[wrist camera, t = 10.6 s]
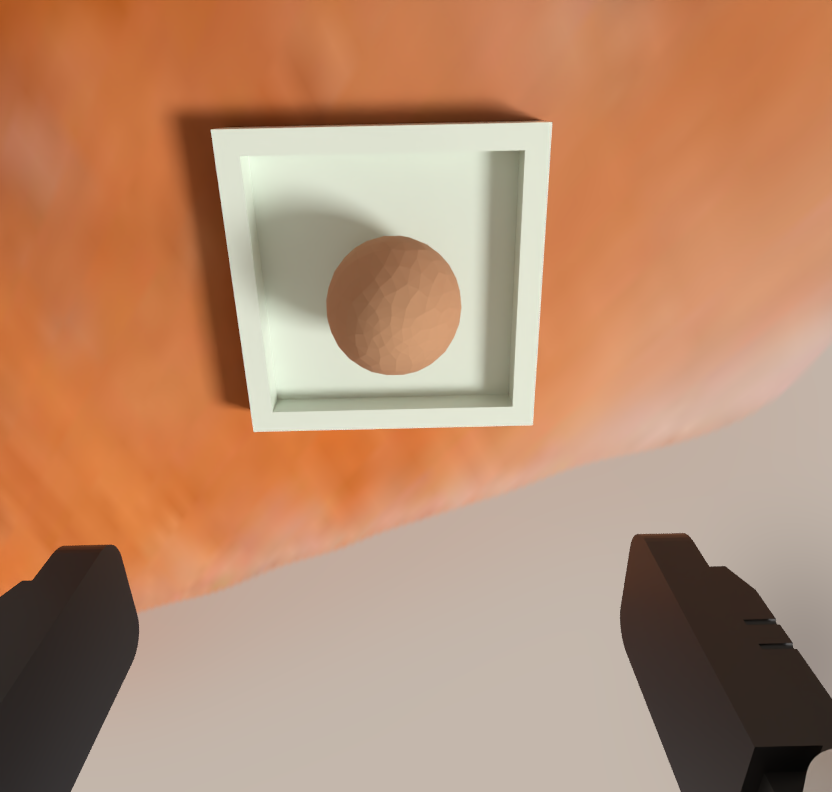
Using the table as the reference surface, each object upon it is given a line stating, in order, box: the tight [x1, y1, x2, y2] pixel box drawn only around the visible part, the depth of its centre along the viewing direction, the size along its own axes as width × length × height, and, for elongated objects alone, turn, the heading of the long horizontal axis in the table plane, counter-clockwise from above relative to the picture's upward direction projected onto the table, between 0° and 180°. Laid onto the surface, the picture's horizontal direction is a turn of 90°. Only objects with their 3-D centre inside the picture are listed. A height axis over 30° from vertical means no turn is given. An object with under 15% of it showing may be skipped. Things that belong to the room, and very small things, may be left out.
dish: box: [211, 121, 552, 432], centre depth 28 cm, size 13×13×2 cm
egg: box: [326, 236, 461, 375], centre depth 26 cm, size 5×5×7 cm
